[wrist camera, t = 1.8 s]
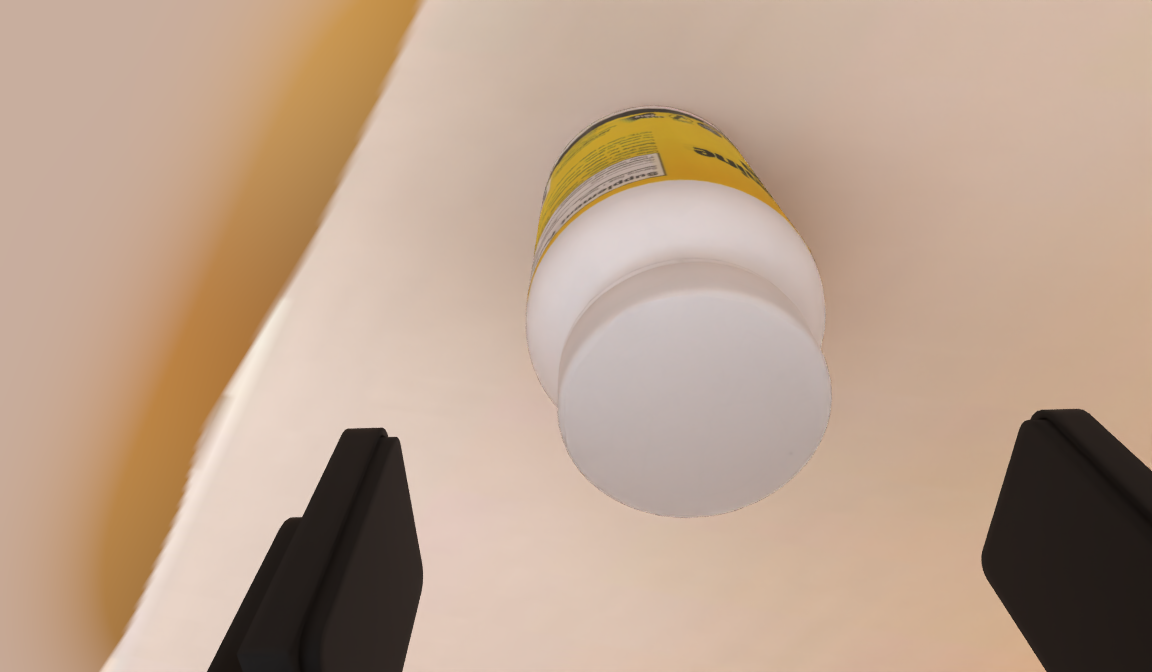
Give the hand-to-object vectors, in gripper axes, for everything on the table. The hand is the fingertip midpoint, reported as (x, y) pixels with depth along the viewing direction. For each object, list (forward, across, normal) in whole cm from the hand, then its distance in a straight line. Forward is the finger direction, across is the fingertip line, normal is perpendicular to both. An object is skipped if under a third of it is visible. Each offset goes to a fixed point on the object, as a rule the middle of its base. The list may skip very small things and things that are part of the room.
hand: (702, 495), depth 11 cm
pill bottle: (+13, 0, 0) cm, 13 cm away
